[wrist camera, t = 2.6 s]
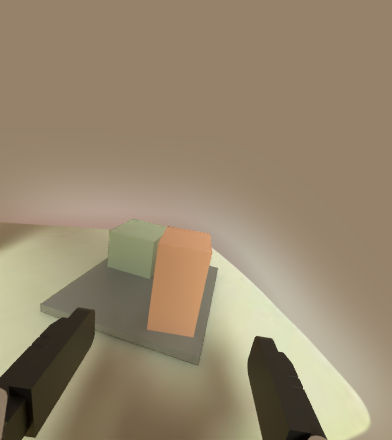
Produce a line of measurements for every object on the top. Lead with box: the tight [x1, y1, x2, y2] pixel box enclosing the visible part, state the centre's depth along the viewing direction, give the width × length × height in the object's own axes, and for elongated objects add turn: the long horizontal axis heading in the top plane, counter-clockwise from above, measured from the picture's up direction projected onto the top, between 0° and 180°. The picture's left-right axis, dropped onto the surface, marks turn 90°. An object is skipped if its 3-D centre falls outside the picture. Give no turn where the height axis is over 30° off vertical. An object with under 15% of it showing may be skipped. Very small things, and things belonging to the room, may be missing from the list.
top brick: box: [147, 226, 212, 337], centre depth 22 cm, size 5×5×10 cm
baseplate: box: [40, 258, 218, 365], centre depth 29 cm, size 18×18×1 cm
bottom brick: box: [107, 219, 167, 279], centre depth 32 cm, size 7×7×6 cm
